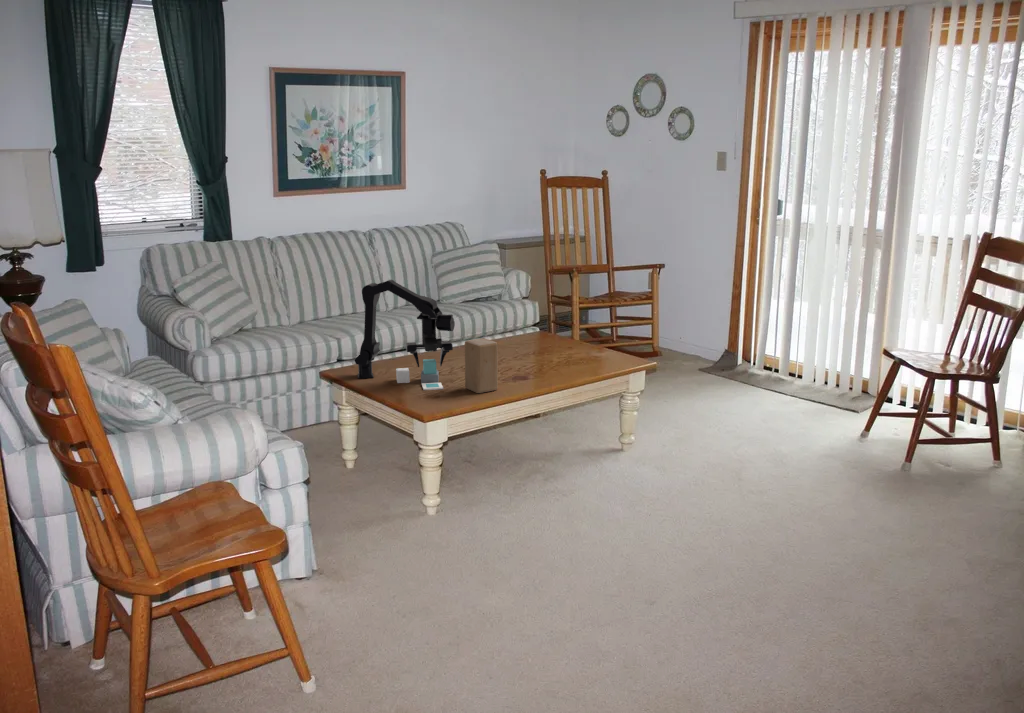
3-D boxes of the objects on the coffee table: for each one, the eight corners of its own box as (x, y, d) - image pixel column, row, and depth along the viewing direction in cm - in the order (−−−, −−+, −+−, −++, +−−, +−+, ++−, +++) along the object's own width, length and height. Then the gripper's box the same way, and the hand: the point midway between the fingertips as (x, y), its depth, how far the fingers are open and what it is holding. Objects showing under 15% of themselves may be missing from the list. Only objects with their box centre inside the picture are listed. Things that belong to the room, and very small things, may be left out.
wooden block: (478, 394, 356) (477, 345, 351) (464, 388, 364) (463, 340, 359) (498, 390, 362) (498, 341, 357) (484, 384, 369) (484, 337, 364)
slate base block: (422, 379, 378) (421, 370, 377) (438, 379, 378) (438, 370, 377) (421, 384, 371) (420, 374, 370) (438, 384, 371) (437, 374, 370)
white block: (396, 380, 376) (396, 368, 375) (408, 379, 377) (408, 367, 376) (397, 383, 371) (397, 371, 370) (409, 382, 372) (409, 371, 371)
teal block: (423, 371, 375) (422, 359, 374) (435, 370, 376) (434, 359, 375) (424, 374, 370) (424, 362, 369) (436, 373, 371) (436, 362, 370)
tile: (421, 384, 369) (421, 383, 368) (441, 383, 370) (441, 382, 370) (423, 390, 361) (423, 388, 361) (443, 389, 363) (443, 387, 362)
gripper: (407, 335, 359) (408, 372, 363) (454, 333, 363) (454, 370, 367) (405, 329, 370) (406, 365, 374) (450, 327, 374) (451, 363, 377)
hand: (429, 366), depth 373 cm, fingers open, 9 cm apart
